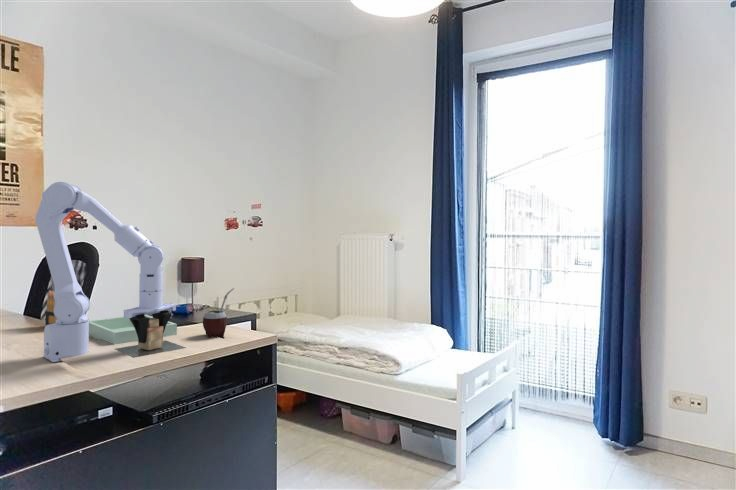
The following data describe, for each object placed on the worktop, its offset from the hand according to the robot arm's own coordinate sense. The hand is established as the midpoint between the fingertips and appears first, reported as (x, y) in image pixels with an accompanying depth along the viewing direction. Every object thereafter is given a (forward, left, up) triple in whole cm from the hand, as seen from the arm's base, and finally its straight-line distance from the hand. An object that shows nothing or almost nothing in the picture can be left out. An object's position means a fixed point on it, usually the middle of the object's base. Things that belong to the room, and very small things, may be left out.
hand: (150, 340), depth 129 cm
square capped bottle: (0, 0, -2) cm, 2 cm away
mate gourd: (+21, +2, -3) cm, 21 cm away
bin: (+4, +22, -3) cm, 23 cm away
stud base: (0, 0, -3) cm, 3 cm away
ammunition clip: (-8, +49, -3) cm, 50 cm away
